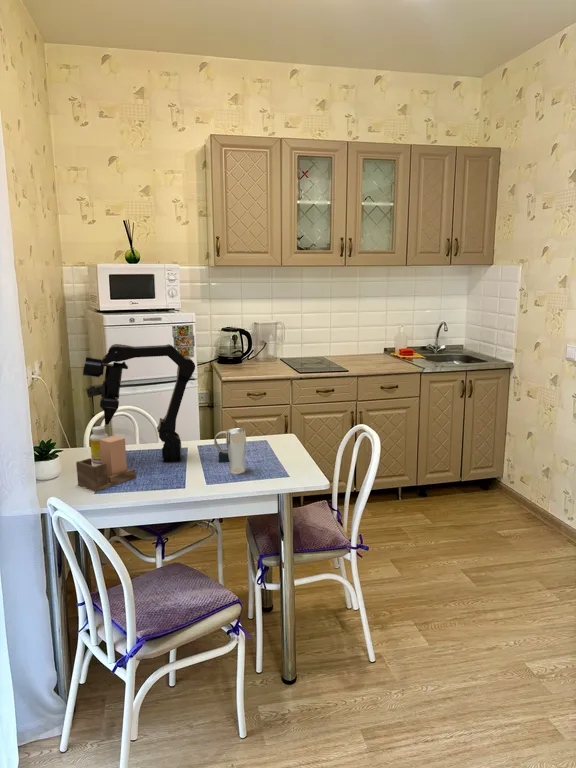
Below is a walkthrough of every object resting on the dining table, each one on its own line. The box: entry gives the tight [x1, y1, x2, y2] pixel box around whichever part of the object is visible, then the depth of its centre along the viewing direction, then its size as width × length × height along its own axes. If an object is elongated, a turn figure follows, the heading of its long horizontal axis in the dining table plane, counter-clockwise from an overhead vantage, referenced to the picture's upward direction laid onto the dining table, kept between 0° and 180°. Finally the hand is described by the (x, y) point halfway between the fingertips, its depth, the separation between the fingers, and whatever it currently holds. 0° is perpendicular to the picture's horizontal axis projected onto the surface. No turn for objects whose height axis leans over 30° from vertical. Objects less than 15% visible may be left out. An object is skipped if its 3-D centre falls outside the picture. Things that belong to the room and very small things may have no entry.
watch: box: [213, 430, 229, 463], centre depth 219 cm, size 6×8×11 cm
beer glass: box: [225, 427, 247, 475], centre depth 206 cm, size 7×7×15 cm
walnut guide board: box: [75, 457, 137, 492], centre depth 199 cm, size 16×10×8 cm, turn 142°
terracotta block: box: [99, 435, 128, 478], centre depth 200 cm, size 6×6×13 cm
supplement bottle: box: [89, 425, 110, 464], centre depth 220 cm, size 7×7×13 cm
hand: (106, 421), depth 213 cm, fingers open, 9 cm apart
